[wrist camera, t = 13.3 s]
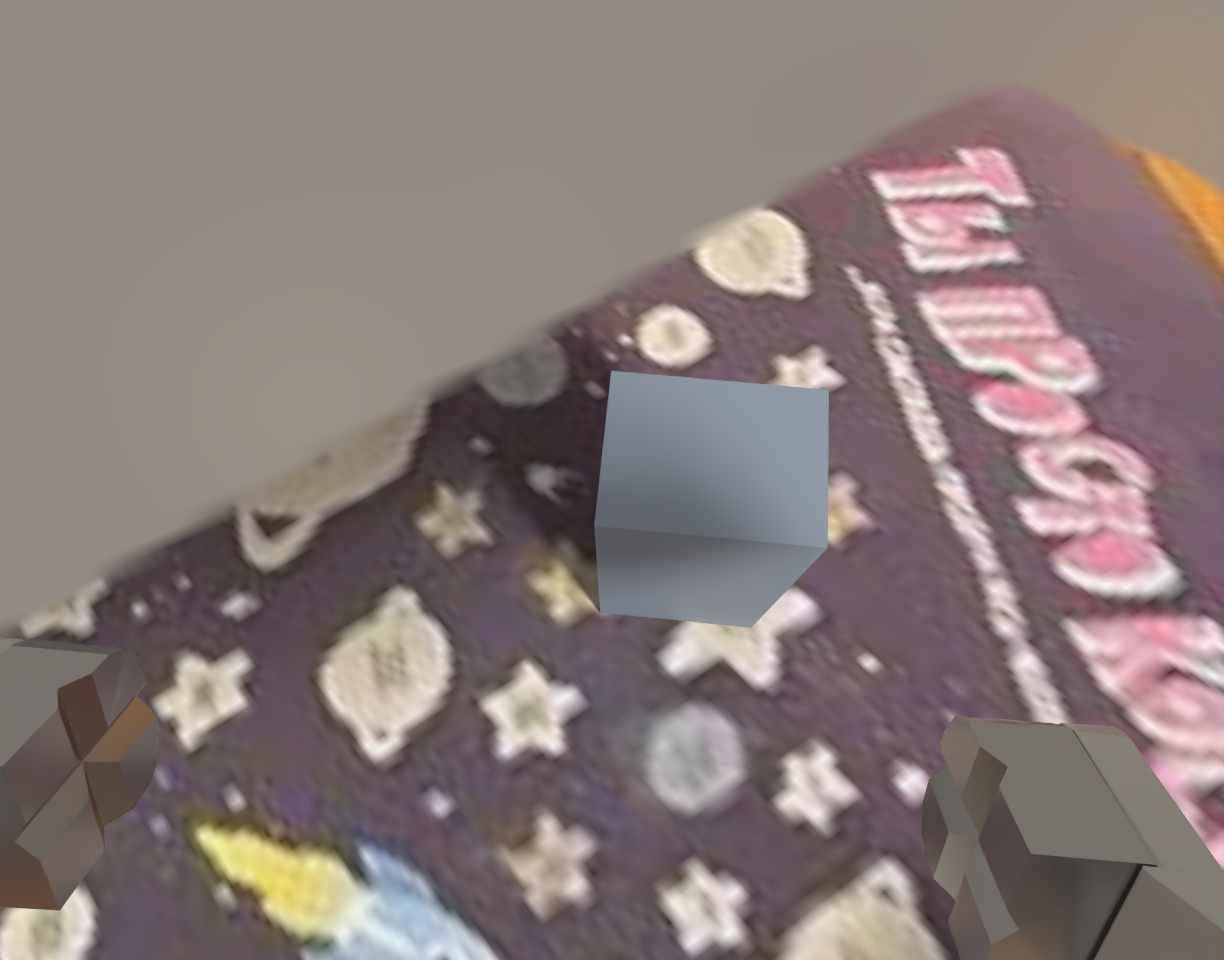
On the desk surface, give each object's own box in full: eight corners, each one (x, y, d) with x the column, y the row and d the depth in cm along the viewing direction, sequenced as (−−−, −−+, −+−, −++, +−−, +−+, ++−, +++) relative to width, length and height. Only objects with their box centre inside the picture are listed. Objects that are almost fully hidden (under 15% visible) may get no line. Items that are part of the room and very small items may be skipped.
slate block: (751, 627, 21) (827, 548, 14) (599, 612, 21) (594, 525, 14) (755, 519, 22) (828, 389, 15) (611, 505, 22) (611, 370, 15)
